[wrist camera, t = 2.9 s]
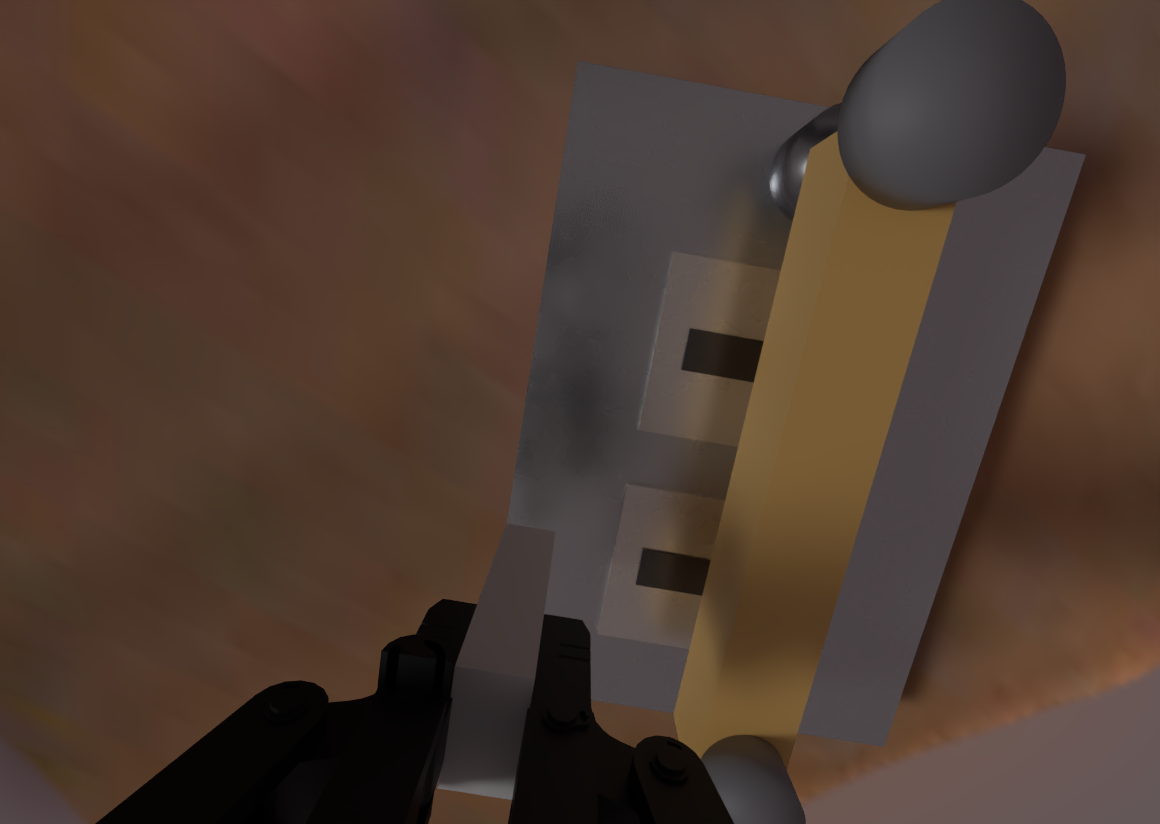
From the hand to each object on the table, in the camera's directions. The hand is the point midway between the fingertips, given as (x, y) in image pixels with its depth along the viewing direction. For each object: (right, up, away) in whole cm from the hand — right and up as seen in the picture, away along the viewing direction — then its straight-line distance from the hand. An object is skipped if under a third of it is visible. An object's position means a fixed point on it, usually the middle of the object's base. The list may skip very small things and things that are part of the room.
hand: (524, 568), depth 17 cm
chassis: (+8, +4, +5) cm, 10 cm away
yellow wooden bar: (+8, +4, 0) cm, 9 cm away
